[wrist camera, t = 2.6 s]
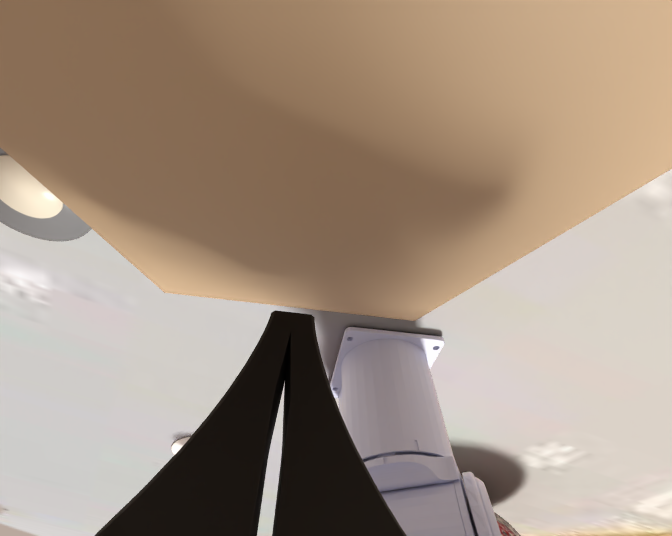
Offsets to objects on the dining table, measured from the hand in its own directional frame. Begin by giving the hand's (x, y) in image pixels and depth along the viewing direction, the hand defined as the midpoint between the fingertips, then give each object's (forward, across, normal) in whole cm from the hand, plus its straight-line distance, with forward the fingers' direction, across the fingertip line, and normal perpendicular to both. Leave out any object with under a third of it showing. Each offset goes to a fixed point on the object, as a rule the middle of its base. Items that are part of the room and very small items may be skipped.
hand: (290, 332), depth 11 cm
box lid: (+1, 0, -4) cm, 4 cm away
